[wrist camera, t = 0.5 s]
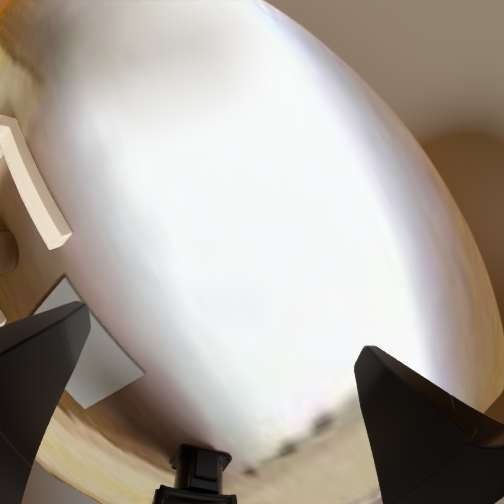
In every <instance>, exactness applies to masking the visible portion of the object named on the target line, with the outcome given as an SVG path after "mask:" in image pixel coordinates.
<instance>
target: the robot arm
mask: <svg viewBox="0 0 504 504" xmlns="http://www.w3.org/2000/svg"><path fill="white" fill-rule="evenodd" d="M90 330H91V320H90V313H89V306H88V304H87V303H84V302H81V301H73V302H70V303H67V304H64V305H61V306H59V307H56V308H53V309H50V310H47V311H44V312H41V313H38V314H35V315H32V316H30V317H27V318H24V319H21V320H18V321H15V322H12V323H10V324H7V325H4V326H1V327H0V504H21V502H22V498H23V495H24V491H25V488H26V484H27V481H28V478H29V475H30V472H31V469H32V465H33V462H34V460H35V457H36V454H37V451H38V449H39V446H40V444H41V441H42V439H43V436H44V434H45V431H46V429H47V426H48V424H49V422H50V419H51V417H52V415H53V413H54V410H55V408H56V406H57V404H58V402H59V400H60V398H61V395H62V393H63V391H64V389H65V387H66V385H67V383H68V381H69V379H70V377H71V375H72V373H73V371H74V369H75V367H76V365H77V363H78V360H79V357H80V355H81V352H82V350H83V347H84V345H85V343H86V340H87V338H88V336H89V333H90ZM354 373H355V378H356V384H357V390H358V396H359V402H360V407H361V411H362V415H363V419H364V423H365V426H366V430H367V434H368V438H369V442H370V446H371V450H372V455H373V459H374V463H375V468H376V472H377V477H378V481H379V486H380V491H381V496H382V501H383V504H504V424H502V423H500V422H498V421H496V420H494V419H492V418H490V417H488V416H487V415H485V414H483V413H481V412H479V411H477V410H476V409H474V408H472V407H470V406H468V405H467V404H465V403H463V402H462V401H460V400H459V399H457V398H455V397H454V396H452V395H450V394H449V393H448V392H446V391H444V390H443V389H441V388H440V387H438V386H437V385H435V384H434V383H432V382H431V381H429V380H427V379H426V378H424V377H423V376H421V375H420V374H418V373H417V372H415V371H414V370H412V369H410V368H409V367H407V366H406V365H404V364H403V363H401V362H400V361H398V360H397V359H395V358H394V357H392V356H391V355H389V354H388V353H386V352H385V351H383V350H381V349H380V348H378V347H377V346H365V347H363V349H362V351H361V353H360V355H359V357H358V359H357V361H356V363H355V366H354ZM231 460H232V457H231V456H229V455H225V454H220V453H216V452H211V451H207V450H203V449H199V448H195V447H192V446H188V445H184V444H183V445H181V446H180V448H179V450H178V452H177V454H176V457H175V459H174V461H173V463H172V466H171V468H172V469H175V470H176V476H175V482H174V488H172V487H167V486H165V485H160V488H159V489H156V490H155V495H154V499H153V502H152V504H237V498H236V495H232V494H231V495H224V494H222V472H223V471H224V470H225V468H226V467H227V466H228V464H229V463H230V462H231Z"/></svg>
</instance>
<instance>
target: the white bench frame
mask: <svg viewBox="0 0 504 504" xmlns="http://www.w3.org/2000/svg"><path fill="white" fill-rule="evenodd" d="M3 155H4V156H5V159H6V162H7V164H8V167H9V169H10V172H11V174H12V177H13V179H14V182H15V184H16V186H17V189H18V191H19V193H20V195H21V197H22V200H23V202H24V204H25V206H26V208H27V210H28V212H29V214H30V216H31V218H32V220H33V222H34V224H35V225H36V227H37V229H38V231H39V233H40V235H41V236H42V238H43V240H44V242H45V243H46V245H47V247H48V248H49V250H51V249H54V248H57V247H60V246H62V245H63V244H64V243H65V242H66V240H67V239H68V238H69V237H70V236H71V235H72V234H73V232H72V230H71V229H70V227H69V225H68V224H67V222H66V220H65V219H64V217H63V215H62V214H61V212H60V210H59V208H58V207H57V205H56V203H55V201H54V199H53V198H52V196H51V194H50V192H49V190H48V188H47V186H46V184H45V183H44V181H43V179H42V177H41V175H40V173H39V170H38V168H37V166H36V164H35V162H34V160H33V158H32V155H31V153H30V151H29V149H28V146H27V144H26V142H25V139H24V137H23V134H22V132H21V129H20V127H19V124H18V121H17V119H15V118H12V117H9V116H5V115H2V114H0V159H1V158H2V156H3ZM6 320H7V319H6V318H5V316H4V314H3V313H2V311H1V309H0V327H1V326H3V325H4V324H5V322H6Z"/></svg>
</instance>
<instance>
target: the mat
mask: <svg viewBox="0 0 504 504" xmlns="http://www.w3.org/2000/svg"><path fill="white" fill-rule="evenodd" d="M73 301H81V302H84V301H83V299H82V298H81V297H80V295H79V294H78V292H77V291H76V290H75V288H74V287H73V285H72V284H71V282H70V281H69V280H68V278H67V277H65V278H64V279H63V280H62V281H61V282H60V284H59V285H58V286H57V287H56V288H55V289H54V290H53V292H52V293H51V294H50V295H49V296H48V297H47V299H46V300H45V301H44V302H43V303H42V305H41V306H40V307H39V308H38V310H37V311H36V312H35V313H34V315H35V314H38V313H41V312H44V311H47V310H50V309H53V308H56V307H59V306H61V305H64V304H67V303H70V302H73ZM84 303H85V302H84ZM89 313H90V320H91V330H90V333H89V336H88V338H87V340H86V343H85V345H84V347H83V350H82V352H81V355H80V357H79V360H78V363H77V365H76V367H75V369H74V371H73V373H72V375H71V377H70V379H69V381H68V383H67V385H66V387H65V390H66V391H67V392H68V393H69V394H70V395H71V396H72V397H73V398H74V399H75V400H76V401H77V402H78V403H79V404H80V405H81V406H82V407H83V408H84V409H86V408H88V407H90V406H91V405H93V404H95V403H97V402H99V401H100V400H102V399H104V398H106V397H107V396H109V395H111V394H113V393H114V392H116V391H118V390H120V389H121V388H123V387H125V386H126V385H128V384H130V383H131V382H133V381H135V380H137V379H138V378H140V377H142V376H143V375H145V373H146V372H145V371H144V370H143V369H142V368H141V367H140V366H139V365H138V364H137V363H136V362H135V361H134V360H133V359H132V358H131V357H130V356H129V355H128V354H127V353H126V351H125V350H124V349H123V348H122V347H121V346H120V345H119V344H118V343H117V341H116V340H115V339H114V338H113V337H112V336H111V334H110V333H109V332H108V331H107V330H106V329H105V327H104V326H103V325H102V324H101V322H100V321H99V320H98V319H97V317H96V316H95V315H94V314H93V312H92V311H91V310H90V309H89Z"/></svg>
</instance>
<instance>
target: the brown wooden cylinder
mask: <svg viewBox="0 0 504 504" xmlns="http://www.w3.org/2000/svg"><path fill="white" fill-rule="evenodd" d="M18 259H19V252H18V246H17V242H16V240H15V238H14V236H13V235H12V234H11V233H10V232H8V231H3V232H0V275H2V274H4V273H7V272H9V271H12V270H14V269H15V268H16V266H17V264H18Z"/></svg>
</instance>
